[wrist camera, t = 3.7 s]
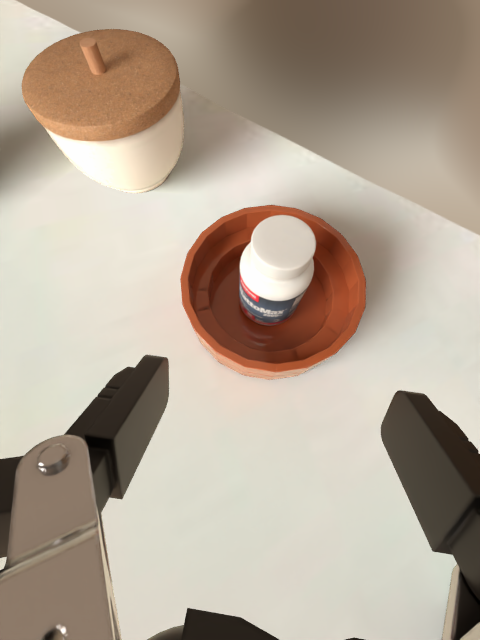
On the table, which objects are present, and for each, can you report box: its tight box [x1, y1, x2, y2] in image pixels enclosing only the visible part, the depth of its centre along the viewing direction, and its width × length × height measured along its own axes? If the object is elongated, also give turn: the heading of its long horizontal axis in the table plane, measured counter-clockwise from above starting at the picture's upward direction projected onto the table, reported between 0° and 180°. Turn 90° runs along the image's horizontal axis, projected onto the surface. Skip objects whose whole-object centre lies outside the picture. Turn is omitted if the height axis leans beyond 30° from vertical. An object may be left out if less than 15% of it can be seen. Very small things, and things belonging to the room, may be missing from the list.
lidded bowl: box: [22, 29, 184, 193], centre depth 26 cm, size 13×13×11 cm
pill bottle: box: [239, 215, 316, 326], centre depth 21 cm, size 5×5×9 cm
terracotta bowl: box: [181, 205, 366, 380], centre depth 23 cm, size 14×14×4 cm
